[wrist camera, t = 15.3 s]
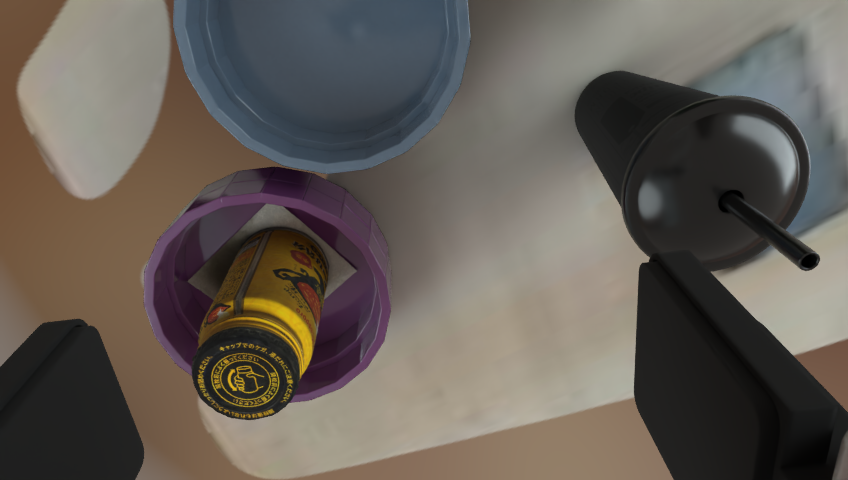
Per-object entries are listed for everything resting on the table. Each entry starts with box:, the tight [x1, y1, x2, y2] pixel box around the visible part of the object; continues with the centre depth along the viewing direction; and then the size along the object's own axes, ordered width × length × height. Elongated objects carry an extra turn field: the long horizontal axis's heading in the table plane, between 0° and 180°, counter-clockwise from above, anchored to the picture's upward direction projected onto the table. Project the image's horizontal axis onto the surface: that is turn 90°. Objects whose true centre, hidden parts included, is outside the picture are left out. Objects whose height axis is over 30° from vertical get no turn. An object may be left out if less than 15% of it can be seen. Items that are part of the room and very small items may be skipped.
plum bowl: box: [144, 167, 392, 403], centre depth 39 cm, size 14×14×5 cm
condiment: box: [187, 204, 357, 420], centre depth 36 cm, size 7×8×12 cm
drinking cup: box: [575, 71, 820, 271], centre depth 29 cm, size 8×8×20 cm
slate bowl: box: [173, 0, 471, 174], centre depth 33 cm, size 14×14×5 cm
